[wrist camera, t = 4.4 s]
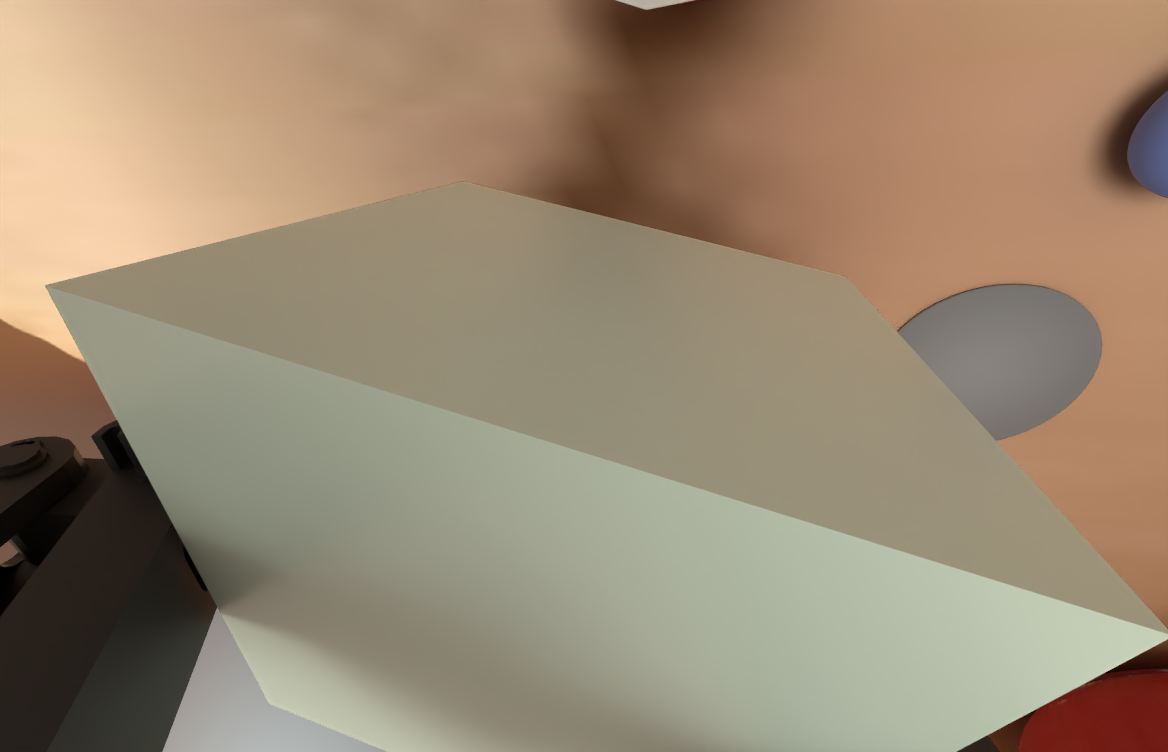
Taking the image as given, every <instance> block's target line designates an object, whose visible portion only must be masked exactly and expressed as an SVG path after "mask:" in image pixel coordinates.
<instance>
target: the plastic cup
mask: <svg viewBox="0 0 1168 752" xmlns="http://www.w3.org/2000/svg"><path fill="white" fill-rule="evenodd" d="M617 1H620V2H623V3H626V4H629V5H632V6H636V7H639V8H642V9H645V10H649V9H654V8H659V7H664V6H669V5H674V4H678V5H679V4H686V3H691V2H696V1H700V0H617Z"/></svg>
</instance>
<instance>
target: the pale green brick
mask: <svg viewBox="0 0 1168 752" xmlns="http://www.w3.org/2000/svg"><path fill="white" fill-rule="evenodd" d="M45 287H46V288H47V290H48V292H49V294H50V296H51V298H52V300H53V302H54V303H55V305H56V307H57V309H58V311H59V313H60V315H61V316H62V318H63V320H64V322H65V324H66V326H67V328H68V330H69V331H70V333H71V335H72V337H73V339H74V341H75V343H76V344H77V346H78V348H79V350H80V352H81V354H82V356H83V357H84V359H85V361H86V363H87V365H88V367H89V369H90V371H91V372H92V374H93V376H94V378H95V380H96V382H97V384H98V385H99V387H100V389H101V391H102V393H103V395H104V397H105V399H106V400H107V402H108V404H109V406H110V408H111V410H112V411H113V413H114V415H115V417H116V419H117V421H118V423H119V425H120V426H121V428H122V430H123V432H124V434H125V436H126V438H127V440H128V441H129V443H130V445H131V447H132V449H133V451H134V453H135V454H136V456H137V458H138V460H139V462H140V464H141V466H142V468H143V469H144V471H145V473H146V475H147V477H148V479H149V481H150V482H151V484H152V486H153V488H154V490H155V492H156V494H157V495H158V497H159V499H160V501H161V503H162V505H163V507H164V509H165V510H166V512H167V514H168V516H169V518H170V520H171V522H172V523H173V525H174V527H175V529H176V531H177V533H178V535H179V537H180V538H181V540H182V542H183V544H184V546H185V548H186V550H187V551H188V553H189V555H190V557H191V559H192V561H193V563H194V564H195V566H196V568H197V570H198V572H199V574H200V576H201V578H202V579H203V581H204V583H205V585H206V587H207V589H208V591H209V592H210V594H211V596H212V598H213V600H214V602H215V604H216V606H217V607H218V609H219V611H220V613H221V615H222V617H223V619H224V620H225V622H226V624H227V626H228V628H229V630H230V632H231V633H232V635H233V637H234V639H235V641H236V643H237V645H238V647H239V648H240V650H241V652H242V654H243V656H244V657H245V660H246V661H247V663H248V665H249V667H250V669H251V670H252V673H253V674H254V676H255V678H256V680H257V682H258V684H259V686H260V688H261V689H262V691H263V693H264V695H265V697H266V699H267V700H268V702H269V704H272V705H274V706H276V707H278V708H281V709H284V710H286V711H288V712H291V713H293V714H296V715H298V716H301V717H303V718H305V719H308V720H310V721H313V722H315V723H318V724H320V725H323V726H325V727H328V728H330V729H333V730H335V731H337V732H340V733H342V734H345V735H347V736H350V737H352V738H355V739H357V740H360V741H362V742H365V743H367V744H369V745H372V746H374V747H377V748H379V749H382V750H384V751H387V752H957V751H959V750H960V749H962V748H964V747H966V746H968V745H970V744H972V743H974V742H976V741H977V740H979V739H981V738H983V737H985V736H987V735H989V734H991V733H992V732H994V731H996V730H998V729H1000V728H1002V727H1004V726H1006V725H1007V724H1009V723H1011V722H1013V721H1015V720H1017V719H1019V718H1021V717H1023V716H1024V715H1026V714H1028V713H1030V712H1032V711H1034V710H1036V709H1038V708H1039V707H1041V706H1043V705H1045V704H1047V703H1049V702H1051V701H1053V700H1055V699H1056V698H1058V697H1060V696H1062V695H1064V694H1066V693H1068V692H1070V691H1071V690H1073V689H1075V688H1077V687H1079V686H1081V685H1083V684H1085V683H1086V682H1088V681H1090V680H1092V679H1094V678H1096V677H1098V676H1100V675H1102V674H1103V673H1105V672H1107V671H1109V670H1111V669H1113V668H1115V667H1117V666H1118V665H1120V664H1122V663H1124V662H1126V661H1128V660H1130V659H1132V658H1134V657H1135V656H1137V655H1139V654H1141V653H1143V652H1145V651H1147V650H1149V649H1150V648H1152V647H1154V646H1156V645H1158V644H1160V643H1162V642H1164V641H1166V640H1167V639H1168V629H1167V628H1166V627H1165V626H1164V624H1163V623H1162V622H1161V621H1160V620H1159V619H1158V618H1157V617H1156V616H1155V615H1154V613H1153V612H1152V611H1151V610H1150V609H1149V608H1148V607H1147V606H1146V605H1145V604H1144V602H1143V601H1142V600H1141V599H1140V598H1139V597H1138V596H1137V595H1136V594H1135V593H1134V592H1133V590H1132V589H1131V588H1130V587H1129V586H1128V585H1127V584H1126V583H1125V582H1124V581H1123V579H1122V578H1121V577H1120V576H1119V575H1118V574H1117V573H1116V572H1115V571H1114V570H1113V568H1112V567H1111V566H1110V565H1109V564H1108V563H1107V562H1106V561H1105V560H1104V559H1103V557H1102V556H1101V555H1100V554H1099V553H1098V552H1097V551H1096V550H1095V549H1094V548H1093V546H1092V545H1091V544H1090V543H1089V542H1088V541H1087V540H1086V539H1085V538H1084V537H1083V535H1082V534H1081V533H1080V532H1079V531H1078V530H1077V529H1076V528H1075V527H1074V526H1073V525H1072V523H1071V522H1070V521H1069V520H1068V519H1067V518H1066V517H1065V516H1064V515H1063V514H1062V512H1061V511H1060V510H1059V509H1058V508H1057V507H1056V506H1055V505H1054V504H1053V503H1052V501H1051V500H1050V499H1049V498H1048V497H1047V496H1046V495H1045V494H1044V493H1043V492H1042V490H1041V489H1040V488H1039V487H1038V486H1037V485H1036V484H1035V483H1034V482H1033V481H1032V479H1031V478H1030V477H1029V476H1028V475H1027V474H1026V473H1025V472H1024V471H1023V470H1022V468H1021V467H1020V466H1019V465H1018V464H1017V463H1016V462H1015V461H1014V460H1013V459H1012V458H1011V456H1010V455H1009V454H1008V453H1007V452H1006V451H1005V450H1004V449H1003V448H1002V447H1001V445H1000V444H999V443H998V442H997V441H996V440H995V439H994V438H993V437H992V436H991V434H990V433H989V432H988V431H987V430H986V429H985V428H984V427H983V426H982V425H981V423H980V422H979V421H978V420H977V419H976V418H975V417H974V416H973V415H972V414H971V412H970V411H969V410H968V409H967V408H966V407H965V406H964V405H963V404H962V403H961V401H960V400H959V399H958V398H957V397H956V396H955V395H954V394H953V393H952V392H951V390H950V389H949V388H948V387H947V386H946V385H945V384H944V383H943V382H942V381H941V380H940V378H939V377H938V376H937V375H936V374H935V373H934V372H933V371H932V370H931V369H930V367H929V366H928V365H927V364H926V363H925V362H924V361H923V360H922V359H921V358H920V356H919V355H918V354H917V353H916V352H915V351H914V350H913V349H912V348H911V347H910V345H909V344H908V343H907V342H906V341H905V340H904V339H903V338H902V337H901V336H900V334H899V333H898V332H897V331H896V330H895V329H894V328H893V327H892V326H891V325H890V323H889V322H888V321H887V320H886V319H885V318H884V317H883V316H882V315H881V314H880V313H879V311H878V310H877V309H876V308H875V307H874V306H873V305H872V304H871V303H870V302H869V300H868V299H867V298H866V297H865V296H864V295H863V294H862V293H861V292H860V291H859V289H858V288H857V287H856V286H855V285H854V284H853V283H852V282H851V281H850V280H849V278H848V277H847V276H843V275H839V274H835V273H831V272H827V271H823V270H819V269H815V268H810V267H806V266H802V265H798V264H794V263H790V262H786V261H782V260H778V259H774V258H770V257H766V256H762V255H758V254H754V253H750V252H746V251H742V250H738V249H734V248H730V247H726V246H722V245H718V244H714V243H710V242H706V241H702V240H698V239H694V238H690V237H686V236H682V235H678V234H674V233H670V232H666V231H662V230H658V229H654V228H650V227H646V226H642V225H638V224H634V223H630V222H626V221H622V220H618V219H614V218H610V217H606V216H602V215H598V214H594V213H590V212H586V211H582V210H578V209H574V208H570V207H566V206H562V205H557V204H553V203H549V202H545V201H541V200H537V199H533V198H529V197H525V196H521V195H517V194H513V193H509V192H505V191H501V190H497V189H493V188H489V187H485V186H481V185H477V184H473V183H469V182H465V181H461V182H457V183H453V184H449V185H445V186H441V187H437V188H433V189H429V190H425V191H421V192H417V193H413V194H409V195H405V196H401V197H397V198H393V199H389V200H385V201H381V202H377V203H373V204H369V205H365V206H361V207H357V208H353V209H349V210H345V211H341V212H337V213H333V214H329V215H325V216H321V217H317V218H313V219H309V220H305V221H301V222H297V223H293V224H289V225H285V226H281V227H277V228H273V229H269V230H265V231H261V232H257V233H253V234H249V235H245V236H241V237H237V238H233V239H229V240H225V241H221V242H217V243H213V244H209V245H205V246H201V247H197V248H193V249H189V250H185V251H181V252H177V253H173V254H169V255H165V256H161V257H157V258H153V259H149V260H145V261H141V262H137V263H133V264H129V265H125V266H121V267H117V268H113V269H109V270H105V271H101V272H97V273H93V274H89V275H85V276H81V277H77V278H73V279H69V280H65V281H61V282H57V283H53V284H49V285H45Z"/></svg>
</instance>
